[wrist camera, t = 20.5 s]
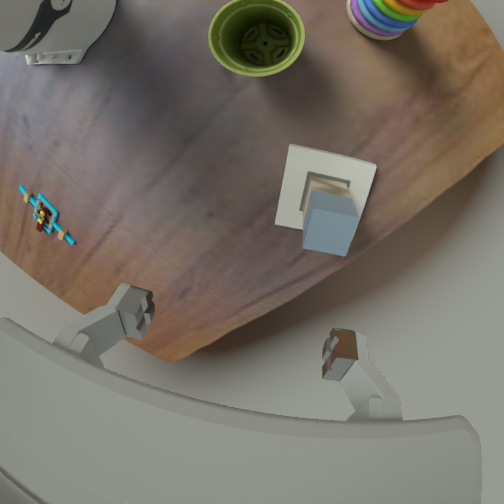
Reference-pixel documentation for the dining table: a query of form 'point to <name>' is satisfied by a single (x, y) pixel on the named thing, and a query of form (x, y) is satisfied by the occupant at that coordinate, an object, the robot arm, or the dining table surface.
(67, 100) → the dining table surface
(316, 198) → the slate blue block
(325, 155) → the plate
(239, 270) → the dining table surface
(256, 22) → the plant pot
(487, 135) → the dining table surface
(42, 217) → the gear mechanism
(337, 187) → the maple block
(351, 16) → the stacking toy
